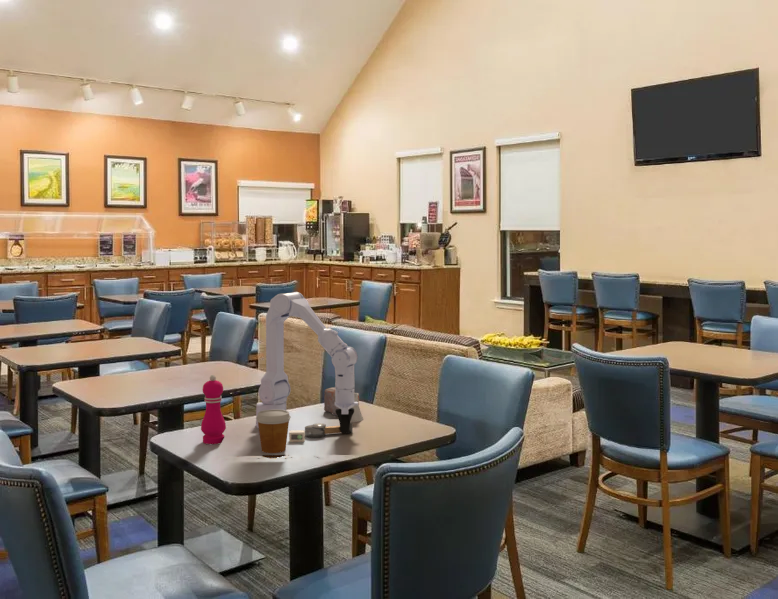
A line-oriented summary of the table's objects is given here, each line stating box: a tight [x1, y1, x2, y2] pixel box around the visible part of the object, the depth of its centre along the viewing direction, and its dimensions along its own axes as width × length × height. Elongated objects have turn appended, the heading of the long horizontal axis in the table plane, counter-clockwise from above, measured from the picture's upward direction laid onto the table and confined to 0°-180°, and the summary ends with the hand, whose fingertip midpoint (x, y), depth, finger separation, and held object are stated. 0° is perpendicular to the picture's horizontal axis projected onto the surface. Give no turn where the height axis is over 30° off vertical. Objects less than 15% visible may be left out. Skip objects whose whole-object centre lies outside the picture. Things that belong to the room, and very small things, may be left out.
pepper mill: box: [200, 374, 227, 445], centre depth 228 cm, size 7×7×20 cm
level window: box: [288, 429, 306, 443], centre depth 224 cm, size 4×3×3 cm
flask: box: [350, 392, 364, 423], centre depth 251 cm, size 7×7×10 cm
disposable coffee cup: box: [255, 409, 292, 459], centre depth 215 cm, size 10×10×12 cm
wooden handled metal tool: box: [304, 422, 354, 439], centre depth 232 cm, size 15×6×3 cm, turn 109°
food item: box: [323, 386, 360, 416], centre depth 265 cm, size 14×8×10 cm, turn 40°
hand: (344, 432), depth 232 cm, fingers closed, pressing on wooden handled metal tool
